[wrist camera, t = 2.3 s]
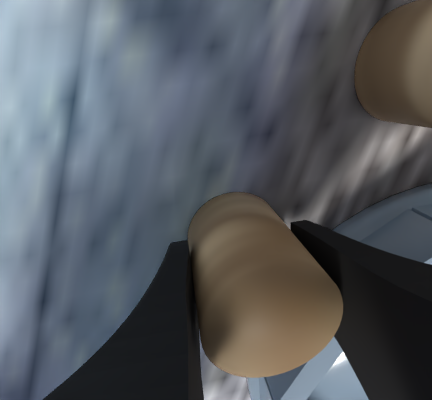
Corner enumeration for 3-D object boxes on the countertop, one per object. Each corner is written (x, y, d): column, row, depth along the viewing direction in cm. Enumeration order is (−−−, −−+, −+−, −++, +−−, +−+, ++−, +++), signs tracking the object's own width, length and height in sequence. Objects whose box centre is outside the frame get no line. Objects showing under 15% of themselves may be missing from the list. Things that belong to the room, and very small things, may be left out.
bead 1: (194, 280, 13) (209, 390, 8) (181, 200, 11) (190, 281, 7) (278, 264, 13) (337, 360, 9) (277, 185, 12) (349, 251, 7)
